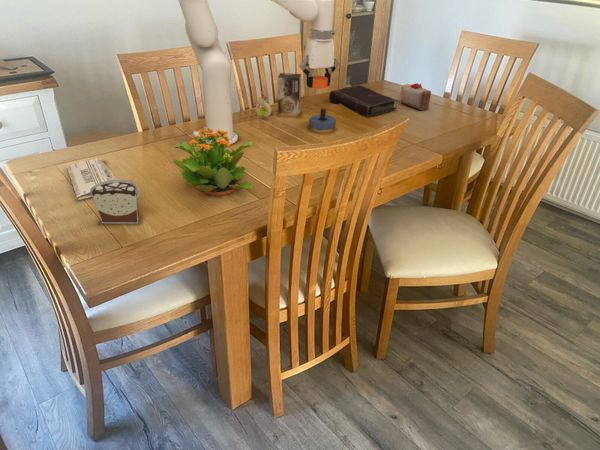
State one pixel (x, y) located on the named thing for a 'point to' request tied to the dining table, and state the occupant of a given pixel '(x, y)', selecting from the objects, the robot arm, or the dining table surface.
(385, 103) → the diary
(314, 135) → the dining table surface
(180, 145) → the potted flower
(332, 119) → the blue ring
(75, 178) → the newspaper
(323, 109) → the ring post
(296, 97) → the coffee box
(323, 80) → the orange ring
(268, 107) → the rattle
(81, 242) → the dining table surface
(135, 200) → the cake slice
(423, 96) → the food item
